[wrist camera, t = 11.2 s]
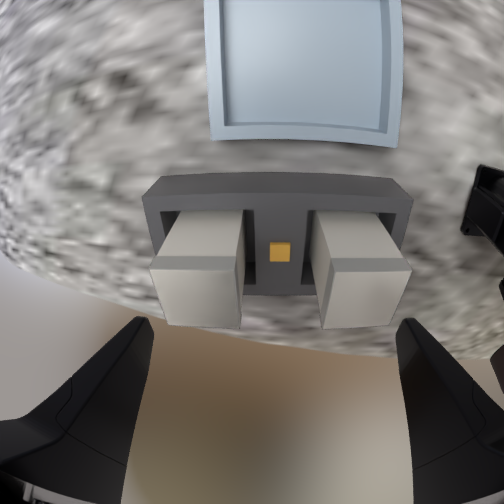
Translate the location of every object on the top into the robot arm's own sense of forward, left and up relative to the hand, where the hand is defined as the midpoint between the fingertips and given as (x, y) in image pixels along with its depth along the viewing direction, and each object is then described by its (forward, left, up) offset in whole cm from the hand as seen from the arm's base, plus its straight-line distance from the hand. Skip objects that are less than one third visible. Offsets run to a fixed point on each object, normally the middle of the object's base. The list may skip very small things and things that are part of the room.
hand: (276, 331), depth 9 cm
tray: (-2, -9, -12) cm, 15 cm away
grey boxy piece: (0, +3, -12) cm, 12 cm away
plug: (+4, +2, -11) cm, 12 cm away
